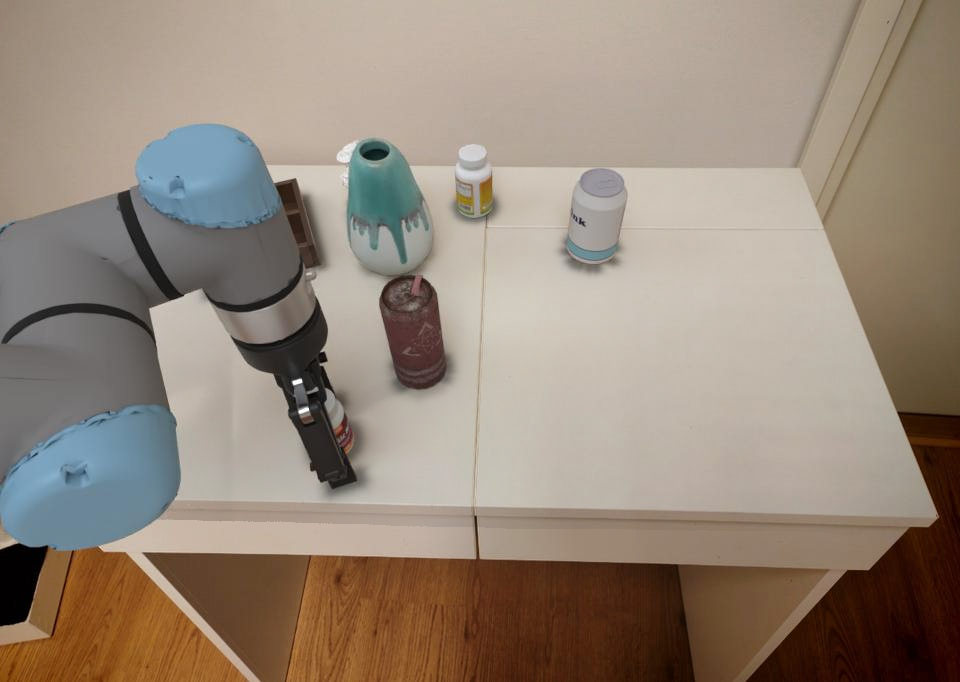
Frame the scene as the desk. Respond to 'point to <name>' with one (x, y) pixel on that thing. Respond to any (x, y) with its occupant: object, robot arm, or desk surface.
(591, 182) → the beverage can
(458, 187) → the supplement bottle
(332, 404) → the pill bottle
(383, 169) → the vase
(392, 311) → the red cylinder
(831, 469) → the desk surface
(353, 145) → the flower shoulder figurine
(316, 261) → the holder
